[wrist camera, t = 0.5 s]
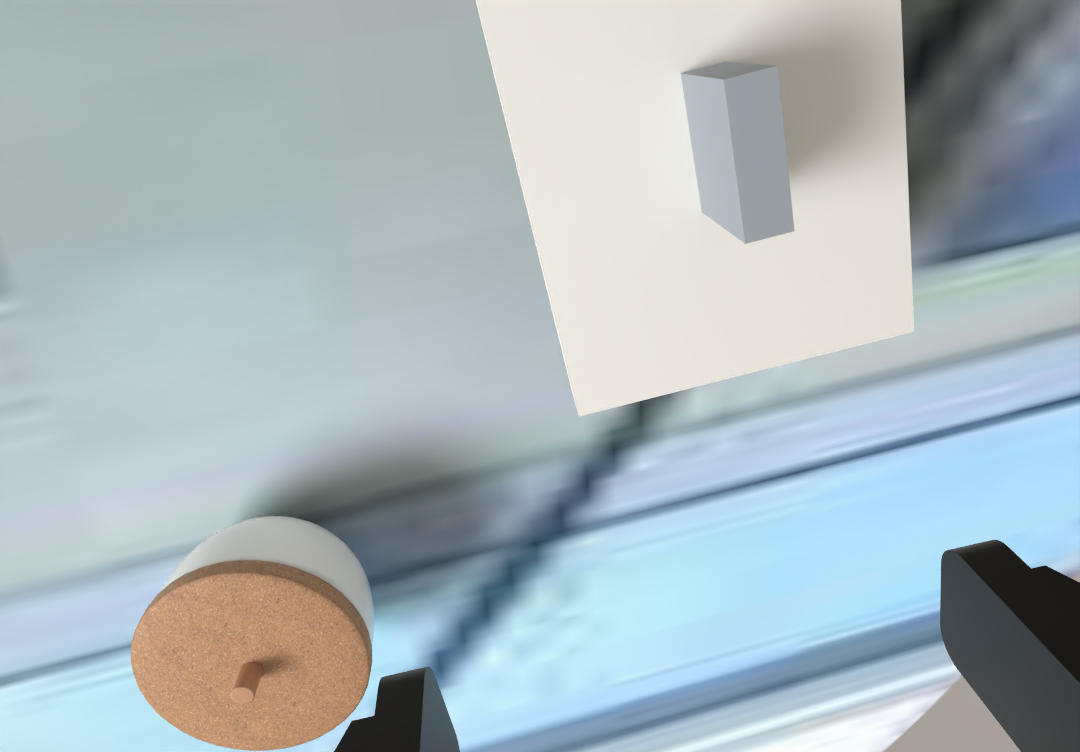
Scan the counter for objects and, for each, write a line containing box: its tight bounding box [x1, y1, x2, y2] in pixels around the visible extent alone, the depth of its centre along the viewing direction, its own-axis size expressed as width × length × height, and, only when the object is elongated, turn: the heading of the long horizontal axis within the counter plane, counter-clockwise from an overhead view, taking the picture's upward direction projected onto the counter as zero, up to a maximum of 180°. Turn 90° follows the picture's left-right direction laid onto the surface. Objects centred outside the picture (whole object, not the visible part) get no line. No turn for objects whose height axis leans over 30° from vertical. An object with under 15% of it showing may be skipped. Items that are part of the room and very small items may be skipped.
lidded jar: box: [131, 516, 374, 751], centre depth 38 cm, size 11×11×9 cm
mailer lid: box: [476, 0, 914, 416], centre depth 27 cm, size 19×14×8 cm
